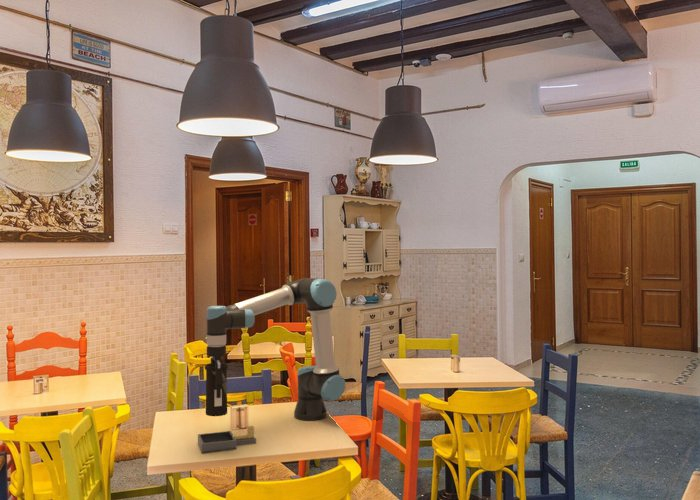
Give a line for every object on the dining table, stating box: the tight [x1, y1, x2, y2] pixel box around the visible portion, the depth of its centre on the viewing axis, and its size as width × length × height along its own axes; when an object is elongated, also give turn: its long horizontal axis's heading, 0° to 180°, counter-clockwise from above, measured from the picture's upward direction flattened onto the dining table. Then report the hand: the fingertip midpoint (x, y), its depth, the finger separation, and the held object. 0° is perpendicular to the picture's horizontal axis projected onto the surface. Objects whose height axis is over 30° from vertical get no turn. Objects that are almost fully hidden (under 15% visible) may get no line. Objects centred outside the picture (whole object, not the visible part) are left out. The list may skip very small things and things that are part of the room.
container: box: [204, 362, 229, 417], centre depth 242 cm, size 9×9×20 cm
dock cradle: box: [197, 430, 237, 454], centre depth 242 cm, size 13×13×4 cm
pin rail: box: [236, 437, 257, 447], centre depth 246 cm, size 8×4×2 cm, turn 111°
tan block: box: [233, 425, 255, 440], centre depth 246 cm, size 8×2×5 cm, turn 111°
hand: (216, 403), depth 242 cm, fingers closed on container, 8 cm apart
